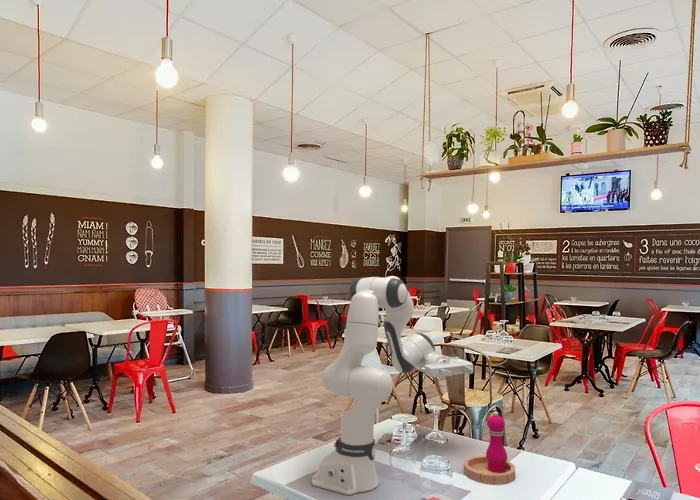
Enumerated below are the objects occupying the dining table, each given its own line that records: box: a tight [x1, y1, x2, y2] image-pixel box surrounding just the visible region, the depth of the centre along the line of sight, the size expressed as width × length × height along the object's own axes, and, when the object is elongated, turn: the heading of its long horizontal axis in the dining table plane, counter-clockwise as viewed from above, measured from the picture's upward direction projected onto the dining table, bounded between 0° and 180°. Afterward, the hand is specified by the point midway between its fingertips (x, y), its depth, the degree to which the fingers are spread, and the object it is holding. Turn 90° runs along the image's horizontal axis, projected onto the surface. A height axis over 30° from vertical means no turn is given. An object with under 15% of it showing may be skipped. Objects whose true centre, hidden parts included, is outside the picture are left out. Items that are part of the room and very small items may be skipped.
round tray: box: [463, 455, 516, 485], centre depth 170 cm, size 17×17×3 cm
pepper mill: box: [485, 410, 508, 472], centre depth 172 cm, size 7×7×20 cm
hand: (461, 372), depth 184 cm, fingers open, 8 cm apart
